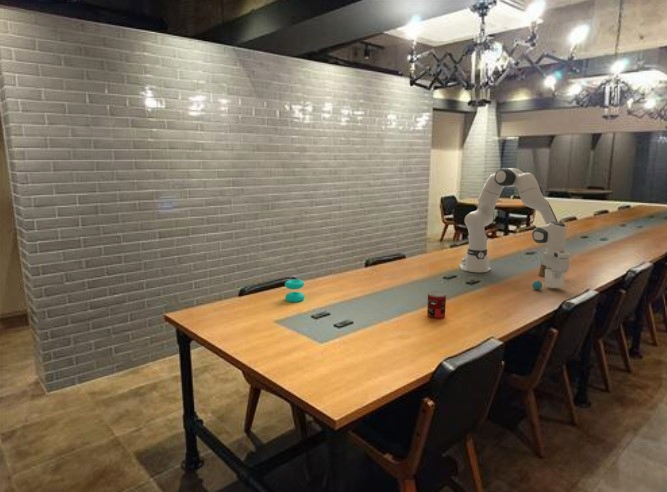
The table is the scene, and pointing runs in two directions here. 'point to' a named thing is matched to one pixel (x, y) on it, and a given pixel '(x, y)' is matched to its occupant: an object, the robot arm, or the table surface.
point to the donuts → (294, 295)
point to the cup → (553, 279)
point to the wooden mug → (542, 270)
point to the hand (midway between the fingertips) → (553, 276)
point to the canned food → (436, 304)
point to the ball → (537, 285)
